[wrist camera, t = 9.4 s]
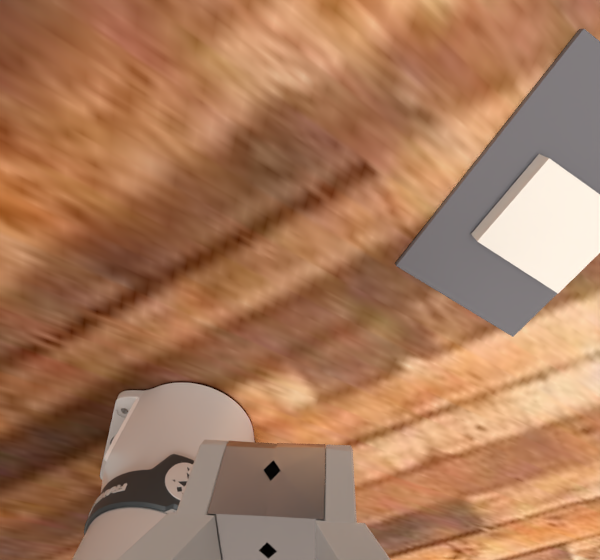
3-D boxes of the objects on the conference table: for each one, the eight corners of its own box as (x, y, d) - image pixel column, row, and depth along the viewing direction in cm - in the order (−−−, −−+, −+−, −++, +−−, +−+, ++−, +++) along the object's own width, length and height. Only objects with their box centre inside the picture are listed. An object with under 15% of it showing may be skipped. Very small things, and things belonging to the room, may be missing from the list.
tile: (470, 233, 38) (547, 283, 40) (477, 241, 36) (557, 293, 38) (537, 153, 35) (618, 211, 36) (549, 158, 33) (634, 219, 34)
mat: (510, 333, 43) (513, 336, 42) (395, 263, 40) (396, 265, 40) (711, 135, 34) (718, 136, 33) (579, 29, 31) (583, 28, 31)
